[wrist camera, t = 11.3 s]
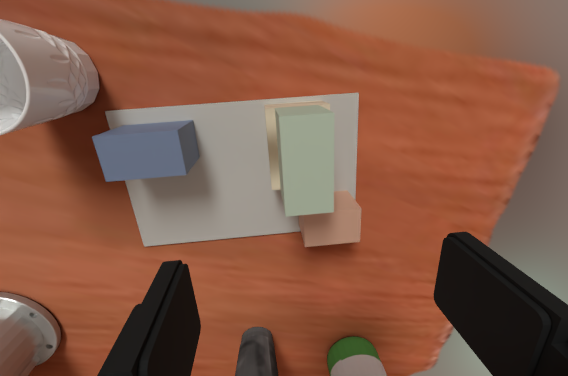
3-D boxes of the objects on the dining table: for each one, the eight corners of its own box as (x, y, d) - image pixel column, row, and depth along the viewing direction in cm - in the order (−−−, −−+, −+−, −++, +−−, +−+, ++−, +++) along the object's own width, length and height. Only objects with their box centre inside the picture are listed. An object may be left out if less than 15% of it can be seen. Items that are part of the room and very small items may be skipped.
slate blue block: (193, 120, 29) (177, 130, 24) (199, 157, 31) (186, 175, 25) (124, 125, 29) (91, 136, 23) (134, 162, 30) (106, 181, 25)
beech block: (322, 172, 33) (330, 184, 29) (270, 177, 32) (271, 190, 29) (321, 100, 30) (330, 103, 26) (264, 104, 29) (264, 108, 26)
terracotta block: (346, 219, 35) (359, 241, 30) (298, 224, 35) (304, 247, 30) (347, 190, 34) (361, 208, 29) (297, 194, 33) (303, 213, 29)
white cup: (123, 76, 27) (53, 76, 18) (78, 133, 29) (-7, 160, 20) (45, 8, 25) (-82, -33, 16) (0, 75, 27) (-139, 74, 17)
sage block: (319, 186, 29) (333, 212, 23) (280, 189, 29) (285, 216, 23) (318, 104, 26) (334, 112, 20) (274, 108, 26) (278, 116, 20)
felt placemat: (353, 225, 36) (354, 226, 36) (144, 245, 34) (144, 246, 34) (358, 92, 30) (358, 92, 30) (105, 111, 28) (104, 111, 28)
